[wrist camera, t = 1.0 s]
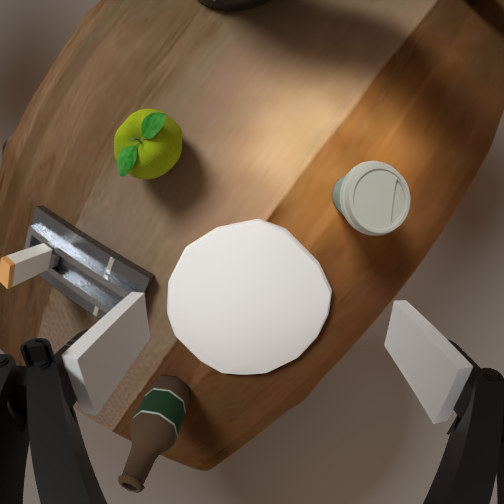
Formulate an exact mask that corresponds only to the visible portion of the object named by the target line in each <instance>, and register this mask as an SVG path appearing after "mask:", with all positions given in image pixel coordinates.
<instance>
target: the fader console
mask: <svg viewBox="0 0 504 504" xmlns="http://www.w3.org/2000/svg"><path fill="white" fill-rule="evenodd" d="M42 243H44V244H46V245H47V246H48V247H50V248H51V249H52V250H53V251H54V252H55V253H57V254H58V255H60V258H59V262H58V266H56V267H53V268H51V267H50V266H49V268H48V270H46V271H44V272H42V273H40V274H38V275H39V276H40V277H41V278H43V279H44V280H45V281H47V282H48V283H49V284H50V285H52V286H53V287H54V288H56V289H57V290H58V291H60V292H61V293H63V294H64V295H65V296H67V297H68V298H69V299H71V300H72V301H74V302H75V303H76V304H78V305H79V306H81V307H82V308H84V309H85V310H87V311H88V312H90V313H91V314H93V315H94V316H96V317H97V318H99V319H101V318H102V317H104V316H105V315H106V314H107V313H108V312H109V311H110V310H111V309H113V308H114V307H115V306H116V305H117V304H118V303H119V302H121V301H122V300H123V299H124V298H125V297H126V296H127V295H129V294H130V293H131V292H140V293H145V297H146V294H147V292H148V289H149V287H150V284H151V282H152V280H153V277H154V275H153V274H152V273H150V272H148V271H146V270H145V269H143V268H141V267H140V266H138V265H136V264H134V263H133V262H131V261H129V260H128V259H126V258H124V257H123V256H121V255H119V254H118V253H116V252H114V251H113V250H111V249H109V248H108V247H106V246H104V245H103V244H101V243H100V242H98V241H96V240H95V239H93V238H92V237H90V236H88V235H87V234H85V233H84V232H82V231H81V230H79V229H77V228H76V227H74V226H73V225H71V224H70V223H68V222H67V221H65V220H64V219H62V218H61V217H59V216H58V215H56V214H55V213H53V212H52V211H50V210H49V209H47V208H46V207H44V206H36V209H35V213H34V217H33V221H32V225H30V226H29V229H28V233H27V238H26V243H25V248H24V249H27V248H30V247H33V246H36V245H39V244H42Z"/></svg>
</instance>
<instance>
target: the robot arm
mask: <svg viewBox="0 0 504 504" xmlns="http://www.w3.org/2000/svg"><path fill="white" fill-rule="evenodd" d="M198 1H199V2H201V3H202V4H204V5H206V6H208V7H211V8H214V9H219V10H243V9H248V8H252V7H255V6H258V5H260V4H263V3H265V2H266V1H268V0H198ZM149 339H150V334H149V327H148V319H147V311H146V302H145V293H140V292H131V293H130V294H129V295H127V296H126V297H125V298H124V299H123V300H122V301H121V302H119V303H118V304H117V305H116V306H115V307H114V308H113V309H111V310H110V311H109V312H108V313H107V314H106V315H105V316H104V317H102V318H101V319H100V320H99V321H98V322H97V323H96V324H95V325H94V326H92V327H91V328H90V329H89V330H85V331H82V332H80V333H78V334H77V335H76V336H74V337H73V338H72V339H71V340H70V341H69V342H68V343H67V344H66V345H64V346H63V347H62V348H61V349H60V350H59V351H58V352H57V353H56V354H55V355H54V354H53V351H52V348H51V344H50V342H49V341H48V340H47V339H43V338H35V339H31V340H29V341H27V342H25V343H24V344H23V345H22V346H21V348H20V350H21V352H22V355H23V358H24V361H25V364H26V366H18V365H16V362H15V359H14V357H13V356H12V355H10V354H0V504H23V488H24V477H25V467H26V460H27V453H28V447H29V441H30V448H31V456H32V462H33V468H34V474H35V480H36V485H37V489H38V493H39V498H40V502H41V504H107V502H106V500H105V498H104V496H103V493H102V491H101V488H100V486H99V483H98V481H97V479H96V476H95V473H94V471H93V468H92V465H91V463H90V460H89V457H88V454H87V451H86V448H85V445H84V442H83V439H82V435H81V432H80V428H79V425H78V421H77V417H76V414H75V411H74V408H73V405H74V404H75V403H76V401H77V402H78V404H79V407H80V409H81V411H82V412H85V413H89V414H92V415H95V416H97V415H98V413H99V412H100V410H101V409H102V407H103V406H104V404H105V403H106V401H107V400H108V399H109V397H110V396H111V394H112V393H113V391H114V390H115V388H116V387H117V385H118V384H119V382H120V381H121V379H122V378H123V377H124V375H125V374H126V372H127V371H128V369H129V368H130V366H131V365H132V364H133V362H134V361H135V359H136V358H137V356H138V355H139V354H140V352H141V351H142V349H143V348H144V346H145V345H146V344H147V342H148V341H149ZM384 346H385V347H386V349H387V350H388V352H389V353H390V355H391V356H392V358H393V360H394V361H395V363H396V364H397V366H398V367H399V369H400V370H401V372H402V374H403V375H404V377H405V378H406V380H407V382H408V383H409V385H410V386H411V388H412V389H413V391H414V393H415V394H416V396H417V398H418V399H419V401H420V403H421V404H422V406H423V408H424V409H425V411H426V412H427V414H428V416H429V418H430V419H431V421H432V423H433V424H436V423H440V422H444V421H447V420H448V419H449V417H450V415H451V413H452V411H453V409H454V411H455V412H456V414H457V417H456V419H455V420H454V422H453V424H452V426H451V427H450V429H449V431H448V433H447V434H448V435H449V434H450V436H449V439H448V443H447V446H446V448H445V451H444V454H443V457H442V460H441V463H440V465H439V468H438V471H437V473H436V476H435V478H434V480H433V483H432V485H431V487H430V490H429V492H428V494H427V497H426V499H425V501H424V503H423V504H489V503H490V500H491V496H492V491H493V487H494V482H495V477H496V472H497V497H498V504H504V378H503V376H502V375H501V374H500V373H499V372H498V371H496V370H494V369H491V368H482V369H481V368H480V367H479V366H478V365H477V364H476V363H475V362H474V361H473V360H472V359H471V358H470V357H469V356H467V354H466V353H465V352H464V351H462V349H461V348H460V347H459V346H458V345H457V344H456V343H454V342H452V341H450V340H447V339H446V338H445V337H444V336H443V335H442V334H441V333H440V332H439V331H438V330H437V329H436V328H435V327H434V326H433V325H432V324H431V323H429V322H428V320H426V319H425V318H424V317H423V316H422V315H421V314H420V313H419V312H418V311H417V310H416V309H415V308H414V307H413V306H412V305H410V304H409V303H408V302H407V301H406V300H401V301H394V303H393V309H392V314H391V318H390V323H389V328H388V332H387V336H386V340H385V345H384ZM450 432H451V433H450Z"/></svg>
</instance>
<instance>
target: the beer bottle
mask: <svg viewBox="0 0 504 504" xmlns="http://www.w3.org/2000/svg"><path fill="white" fill-rule="evenodd" d="M189 400H190V395H189V389H188V385H186V384H185V383H184V382H182V381H181V380H180V379H179V378H177V377H175V376H166V375H161V376H160V377H159V378H158V379H156V380H155V381H154V382H153V383H152V385H151V386H150V388H149V389H148V391H147V393H146V395H145V397H144V398H143V400H142V402H141V404H140V406H139V408H138V410H137V411H136V413H135V415H134V417H133V419H132V421H131V424H130V437H131V440H132V448H131V452H130V454H129V457H128V460H127V463H126V465H125V468H124V471H123V473H122V475H121V476H119V478H118V482H119V483H120V485H121V486H122V487H124V488H125V489H127V490H129V491H133V492H136V493H138V492H141V491H142V490H143V489H144V488H145V487H144V485H143V484H144V482H145V480H146V478H147V476H148V474H149V472H150V470H151V468H152V465H153V463H154V461H155V460H156V458H157V457H158V455H160V454H162V453H163V452H165V451H167V450H169V449H170V448H171V447H172V446H173V445H174V443H175V441H176V439H177V436H178V433H179V430H180V427H181V424H182V422H183V419H184V416H185V413H186V410H187V407H188V404H189Z"/></svg>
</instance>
